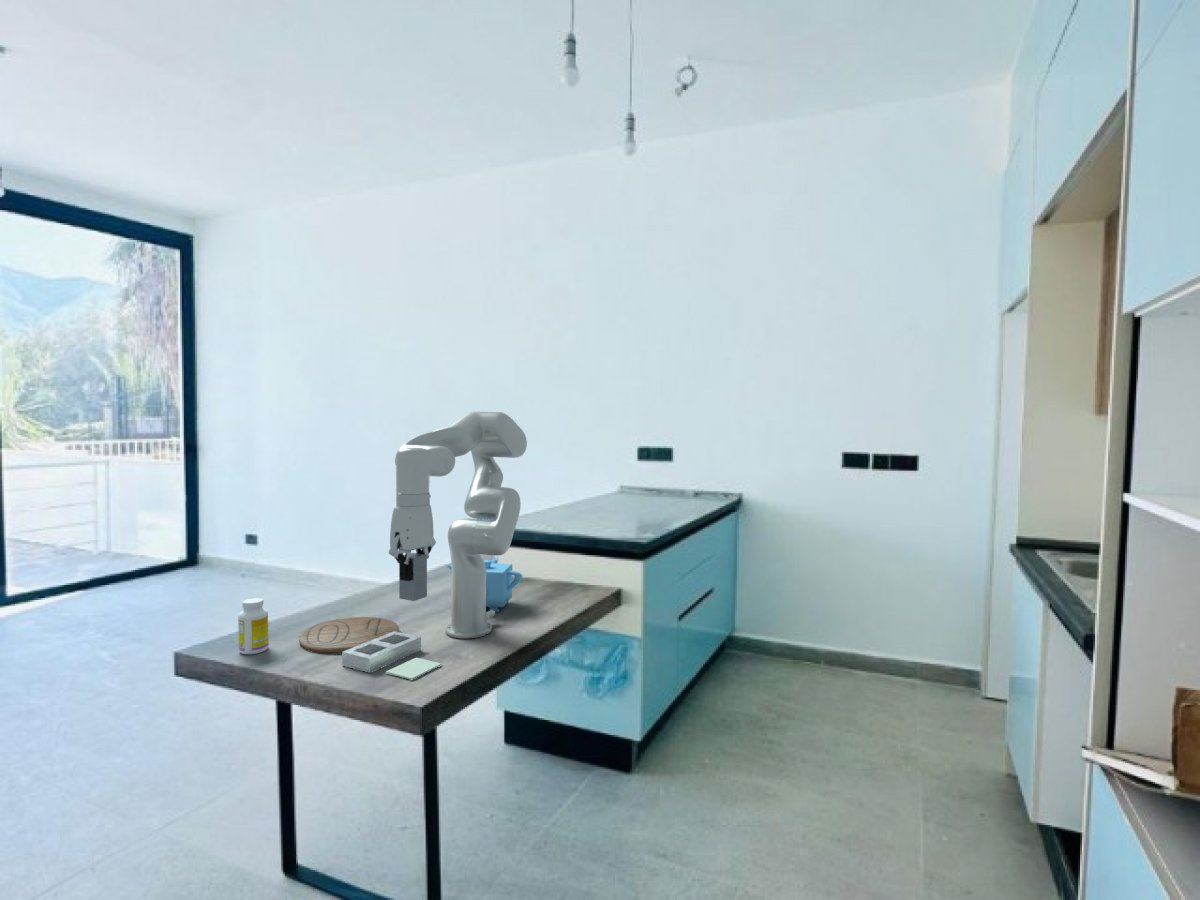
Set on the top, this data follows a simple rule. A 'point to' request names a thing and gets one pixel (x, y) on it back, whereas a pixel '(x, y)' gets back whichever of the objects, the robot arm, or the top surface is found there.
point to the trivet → (344, 633)
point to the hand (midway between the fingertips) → (413, 577)
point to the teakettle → (499, 583)
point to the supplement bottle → (253, 627)
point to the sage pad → (413, 668)
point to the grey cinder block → (381, 651)
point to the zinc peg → (415, 579)
